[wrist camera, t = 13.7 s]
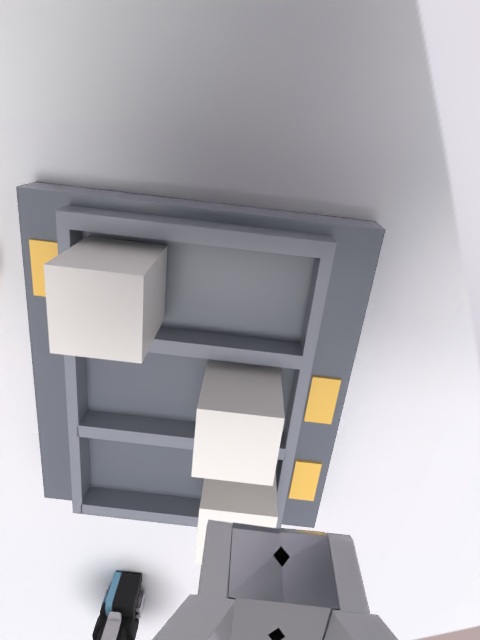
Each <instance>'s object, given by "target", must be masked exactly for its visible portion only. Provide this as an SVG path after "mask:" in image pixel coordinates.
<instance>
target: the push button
mask: <svg viewBox="0 0 480 640" xmlns="http://www.w3.org/2000/svg"><path fill="white" fill-rule="evenodd" d="M141 582H142V574H133V573H123V572H115V573H114V576H113V581H112V584H111V587H110V590H109V588H107V590H106V593H105V596H104V599H103V603H102V607H101V610H100V616H99V617H98V619H97V622H96V625H95V628H94V631H93V640H135V637H136V633H137V629H138V624H139V619H138V618H140V617H141V613H142V609H143V605H144V600H145V592H143V596H142V600H141V604H140V607H139V608H137V600H138V595H139V591H140V587H141ZM106 596H107V597H106Z"/></svg>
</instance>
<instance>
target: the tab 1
mask: <svg viewBox="0 0 480 640" xmlns="http://www.w3.org/2000/svg"><path fill="white" fill-rule="evenodd" d="M167 246H168V245H160V244H152V243H143V242H134V241H126V240H117V239H109V238H100V237H91V236H87V237H86V238H84V239H83V240H81V241H80V242H78V243H76V244H75V245H73V246H72V247H70V248H69V249H67V250H65V251H64V252H62V253H61V254H59V255H57V256H56V257H54V258H53V259H51V260H50V261H48V262H46V263H45V264H43V265H44V279H45V293H46V306H47V320H48V334H49V348H50V353H53V354H62V355H71V356H80V357H88V358H97V359H106V360H114V361H123V362H132V363H141V364H142V362H143V360H144V358H145V356H146V354H147V352H148V350H149V348H150V346H151V344H152V342H153V340H154V338H155V336H156V334H157V332H158V330H159V328H160V326H161V324H162V322H163V320H164V316H165V293H166V269H167Z"/></svg>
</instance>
